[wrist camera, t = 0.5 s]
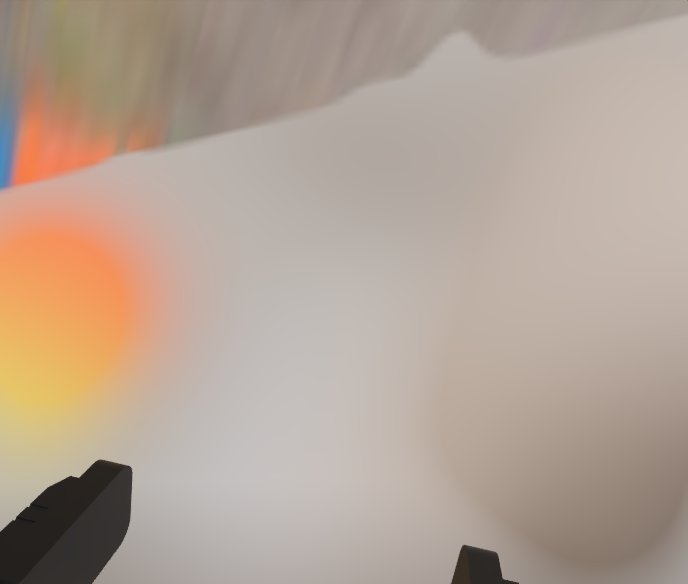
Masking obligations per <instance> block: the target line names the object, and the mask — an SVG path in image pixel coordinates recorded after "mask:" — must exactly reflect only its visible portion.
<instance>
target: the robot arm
mask: <svg viewBox="0 0 688 584" xmlns="http://www.w3.org/2000/svg"><path fill="white" fill-rule="evenodd" d="M131 493H132V469H131V467H130V466H126V465H122V464H118V463H114V462H109V461H105V460H98V461H96V462H95V463H94V464H93V465H92V466H91V467H90V468H89V469H88V470H87V471H86V472H85V473H84V474H83V475H82V476H81V477H80V478H77V477H72V476H69V477H67V478H66V479H64V480H62V481H60V482H58V483H56V484H54V485H52V486H50V487H48V488H47V489H46V490H45V491H44V492H42V493H41V494H40V495H39V496H38V497H37V498H36V499H35V500H34V501H33V502H32V503H31V504H30V506H29V507H26V508H25V509H24V510H23V511H22V512H21V513H20V514H19V515H18V516H17V517H16V519H15V521H14V520H13V521H11V522H10V523H9V524H8V525H7V526H6V527H5V528H4V529H3V530H2V531H1V532H0V584H92V583H93V582H94V580H95V579H96V577H97V576H98V575H99V573H100V572H101V571H102V569H103V568H104V567H105V565H106V564H107V562H108V561H109V560H110V559H111V557H112V556H113V554H114V553H115V552H116V550H117V549H118V548H119V546H120V545H121V543H122V541H123V539H124V537H125V535H126V533H127V530H128V526H129V522H130V514H131ZM451 584H519V583H517V582H513V581H508V580H504V579H503V578H502V573H501V568H500V562H499V558H498V555H497V553H496V552H493V551H489V550H484V549H480V548H476V547H472V546H467V545H463V546H462V548H461V551H460V554H459V558H458V562H457V565H456V569H455V572H454V576H453V579H452V583H451Z"/></svg>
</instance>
